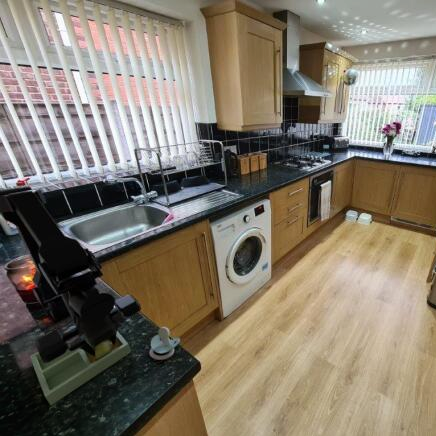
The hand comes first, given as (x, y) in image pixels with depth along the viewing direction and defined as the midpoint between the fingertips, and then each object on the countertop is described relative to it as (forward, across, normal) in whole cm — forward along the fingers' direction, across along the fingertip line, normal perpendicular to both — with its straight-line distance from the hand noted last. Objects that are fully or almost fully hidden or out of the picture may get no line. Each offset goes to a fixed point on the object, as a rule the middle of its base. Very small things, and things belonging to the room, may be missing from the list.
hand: (104, 349), depth 60 cm
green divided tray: (+2, -4, +4) cm, 5 cm away
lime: (+1, 0, 0) cm, 1 cm away
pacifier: (+2, +9, -10) cm, 14 cm away
